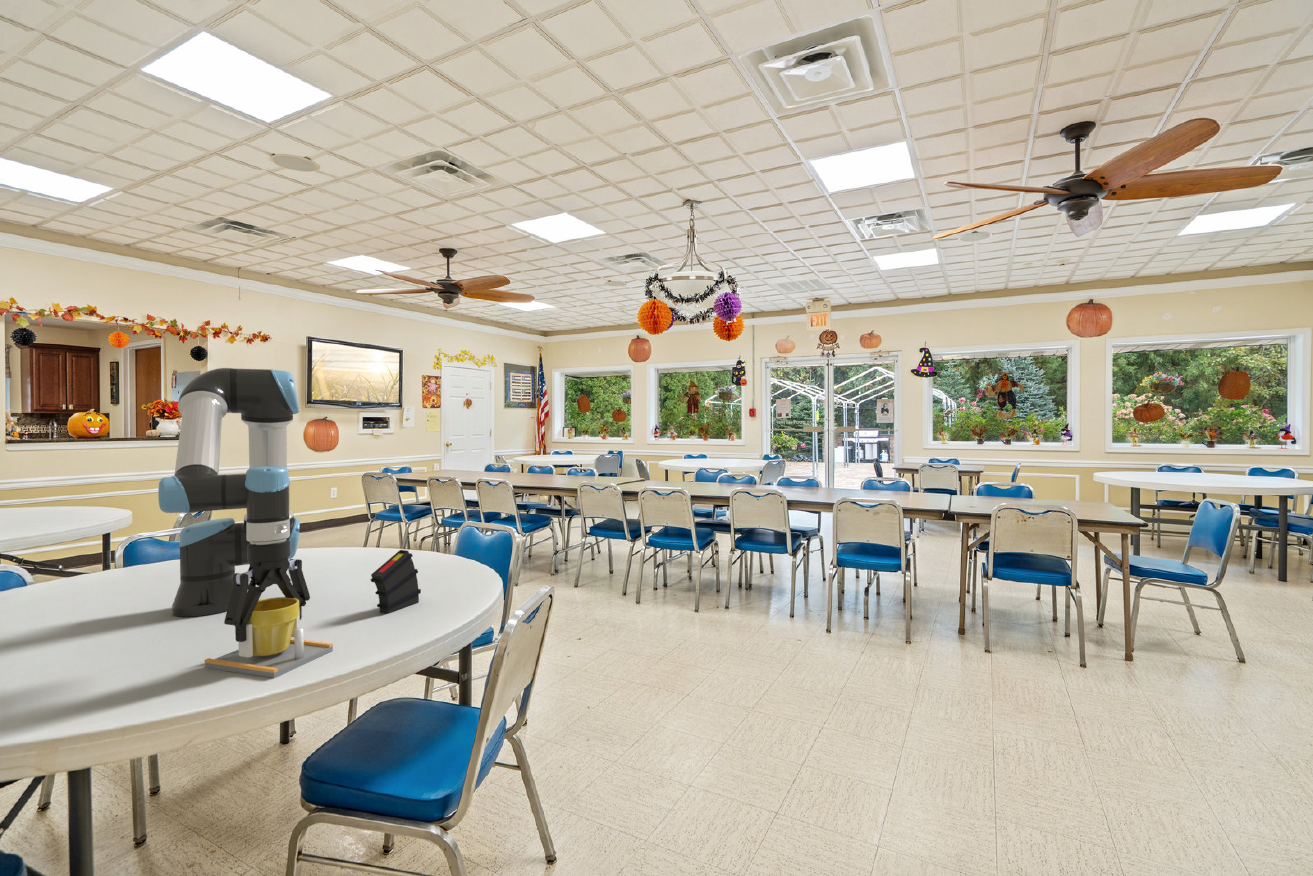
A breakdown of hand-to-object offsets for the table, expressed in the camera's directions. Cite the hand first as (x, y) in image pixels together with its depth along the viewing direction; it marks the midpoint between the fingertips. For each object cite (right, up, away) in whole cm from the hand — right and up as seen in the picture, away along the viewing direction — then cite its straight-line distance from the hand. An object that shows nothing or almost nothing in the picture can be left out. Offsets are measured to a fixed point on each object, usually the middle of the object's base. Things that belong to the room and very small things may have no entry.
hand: (270, 646), depth 121 cm
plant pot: (0, -1, 0) cm, 1 cm away
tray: (0, -3, 0) cm, 3 cm away
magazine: (+11, -2, +33) cm, 35 cm away
